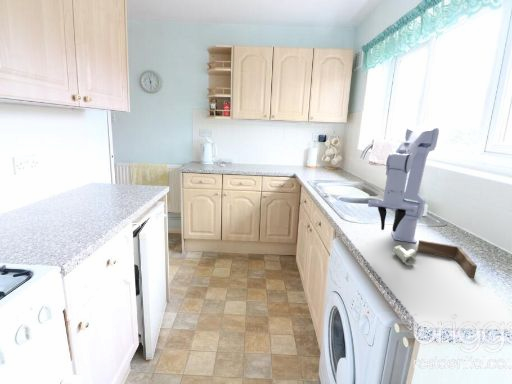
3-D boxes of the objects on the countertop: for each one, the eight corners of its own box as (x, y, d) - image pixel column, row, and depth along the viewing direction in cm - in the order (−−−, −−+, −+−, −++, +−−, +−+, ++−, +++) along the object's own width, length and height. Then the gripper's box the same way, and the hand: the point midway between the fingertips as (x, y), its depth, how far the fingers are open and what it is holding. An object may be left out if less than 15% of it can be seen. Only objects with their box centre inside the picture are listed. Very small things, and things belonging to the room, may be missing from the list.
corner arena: (417, 250, 104) (419, 240, 103) (457, 257, 100) (459, 246, 99) (426, 269, 90) (428, 257, 89) (474, 278, 86) (477, 266, 85)
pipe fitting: (411, 257, 100) (392, 254, 99) (413, 246, 99) (394, 244, 99) (424, 268, 92) (403, 265, 92) (427, 257, 91) (406, 254, 91)
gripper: (371, 190, 91) (365, 230, 94) (422, 195, 87) (414, 237, 90) (370, 186, 98) (364, 223, 101) (417, 191, 93) (410, 230, 96)
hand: (388, 229), depth 96 cm, fingers open, 3 cm apart
